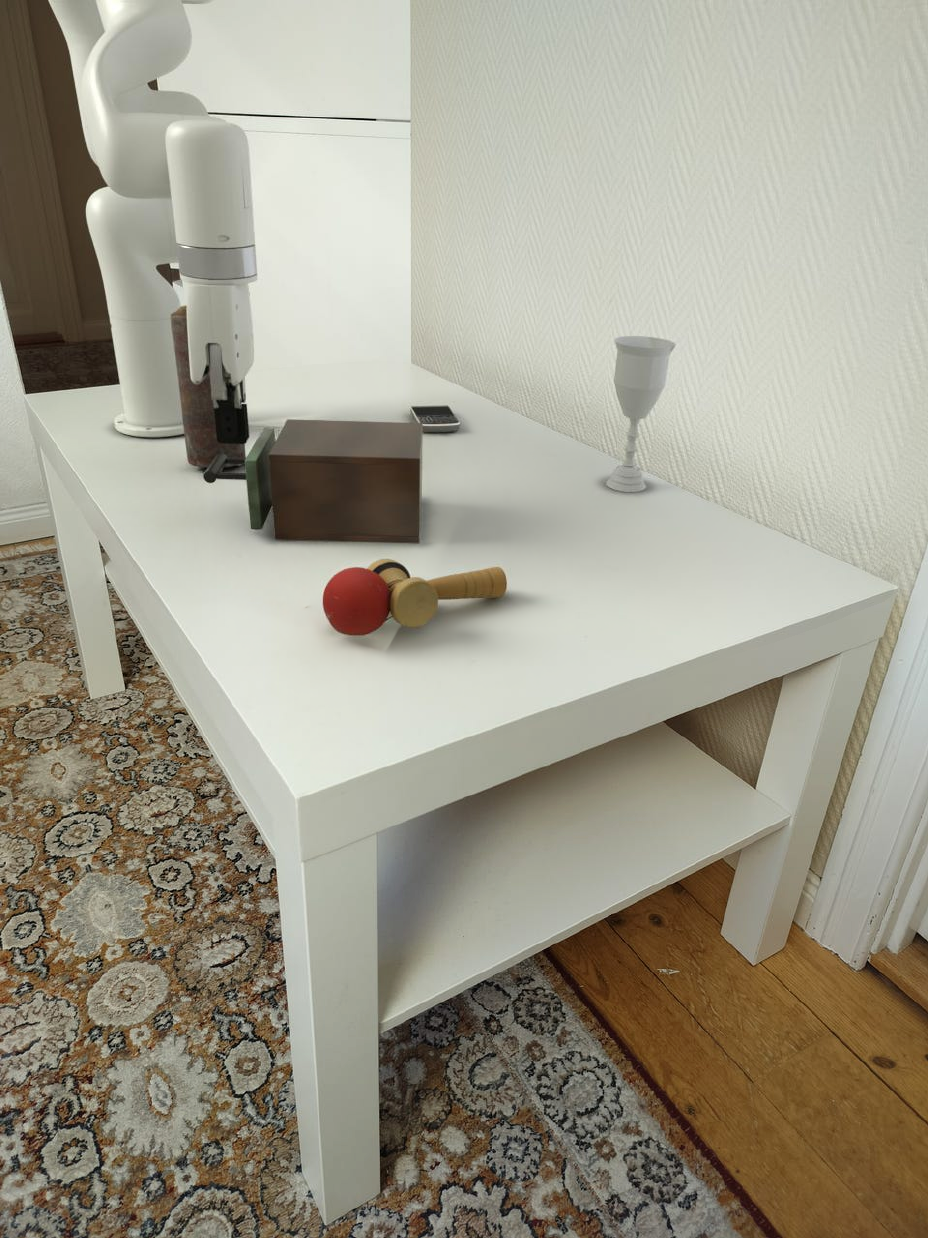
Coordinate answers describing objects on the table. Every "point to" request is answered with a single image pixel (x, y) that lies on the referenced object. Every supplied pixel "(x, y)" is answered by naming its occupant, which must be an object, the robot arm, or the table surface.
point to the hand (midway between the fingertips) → (233, 440)
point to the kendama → (399, 595)
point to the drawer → (250, 476)
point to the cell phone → (435, 418)
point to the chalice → (637, 396)
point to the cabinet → (347, 481)
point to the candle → (197, 404)
